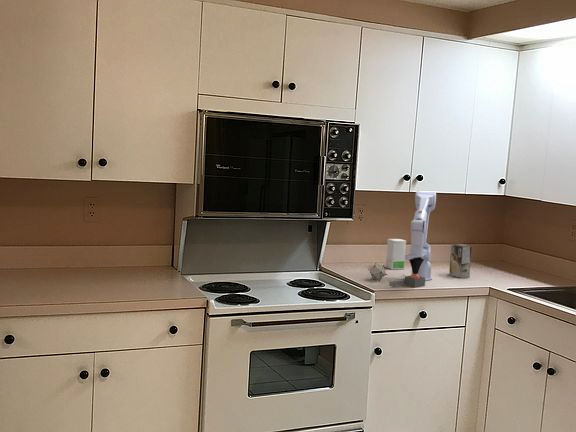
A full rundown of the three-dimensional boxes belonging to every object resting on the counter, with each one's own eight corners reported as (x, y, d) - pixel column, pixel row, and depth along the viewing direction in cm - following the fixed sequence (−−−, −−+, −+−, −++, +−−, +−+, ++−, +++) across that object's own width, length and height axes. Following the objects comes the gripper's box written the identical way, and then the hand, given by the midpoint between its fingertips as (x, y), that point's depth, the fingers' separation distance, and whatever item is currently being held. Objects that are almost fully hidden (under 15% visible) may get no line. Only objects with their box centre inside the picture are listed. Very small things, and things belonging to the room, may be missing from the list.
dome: (414, 282, 312) (415, 271, 311) (422, 284, 308) (422, 273, 307) (407, 283, 309) (407, 272, 308) (414, 285, 305) (415, 274, 304)
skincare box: (391, 269, 343) (393, 240, 341) (385, 267, 349) (386, 238, 347) (405, 269, 346) (406, 240, 344) (398, 266, 352) (400, 238, 350)
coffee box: (470, 277, 332) (472, 246, 330) (460, 278, 329) (462, 246, 327) (457, 273, 340) (460, 243, 338) (448, 274, 337) (450, 243, 335)
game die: (375, 288, 315) (369, 273, 310) (369, 278, 323) (363, 264, 317) (392, 280, 315) (385, 265, 310) (385, 270, 323) (379, 255, 317)
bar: (402, 284, 309) (402, 279, 309) (404, 284, 308) (404, 279, 308) (388, 286, 304) (389, 281, 304) (390, 286, 303) (391, 281, 303)
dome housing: (414, 283, 313) (414, 274, 313) (424, 286, 308) (425, 277, 307) (404, 284, 309) (404, 276, 309) (414, 287, 304) (415, 279, 303)
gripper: (419, 242, 314) (417, 270, 316) (400, 245, 304) (398, 273, 306) (431, 244, 309) (429, 272, 310) (412, 247, 299) (410, 276, 301)
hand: (415, 273), depth 308 cm, fingers closed, pressing on dome
